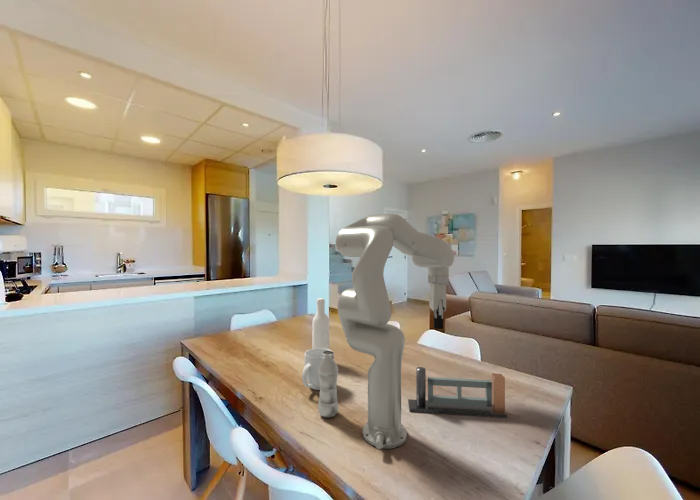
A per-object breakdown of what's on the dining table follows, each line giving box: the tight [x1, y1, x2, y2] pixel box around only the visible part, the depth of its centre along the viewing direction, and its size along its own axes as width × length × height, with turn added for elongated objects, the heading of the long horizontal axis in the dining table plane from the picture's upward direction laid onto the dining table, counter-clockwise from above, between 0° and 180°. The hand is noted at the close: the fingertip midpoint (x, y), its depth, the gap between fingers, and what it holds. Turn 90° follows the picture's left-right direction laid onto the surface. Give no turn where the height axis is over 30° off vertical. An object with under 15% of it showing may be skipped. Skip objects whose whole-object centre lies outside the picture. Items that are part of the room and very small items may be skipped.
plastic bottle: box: [317, 350, 339, 418], centre depth 95 cm, size 6×7×20 cm
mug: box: [301, 348, 332, 391], centre depth 113 cm, size 15×11×13 cm
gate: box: [427, 376, 492, 407], centre depth 97 cm, size 20×2×8 cm, turn 83°
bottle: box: [311, 297, 330, 349], centre depth 138 cm, size 8×8×30 cm
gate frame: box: [407, 366, 508, 419], centre depth 98 cm, size 6×30×13 cm, turn 83°
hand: (438, 328), depth 112 cm, fingers closed
